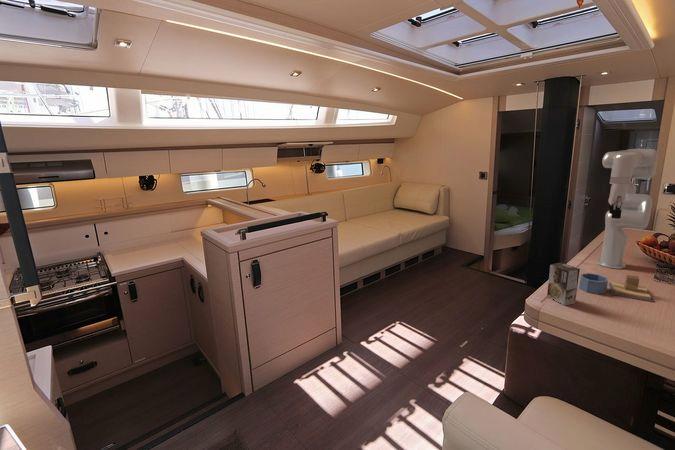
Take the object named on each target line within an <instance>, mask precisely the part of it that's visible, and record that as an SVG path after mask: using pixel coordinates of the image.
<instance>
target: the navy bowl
mask: <svg viewBox="0 0 675 450" xmlns="http://www.w3.org/2000/svg"><path fill="white" fill-rule="evenodd" d="M608 281H609V279H608V277H606V276H603V275H601V274H597V273H592V272H591V273H589V272H585V273H580V274H579V280H578V289H579V290H582V291H583V292H585V293H589V294H595V295H604V294H607V290H608V289H607V288H608V285H609V282H608Z"/></svg>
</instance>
